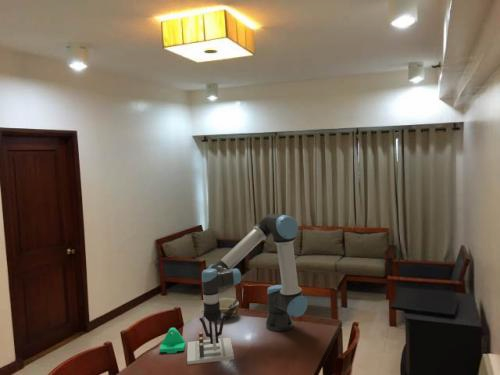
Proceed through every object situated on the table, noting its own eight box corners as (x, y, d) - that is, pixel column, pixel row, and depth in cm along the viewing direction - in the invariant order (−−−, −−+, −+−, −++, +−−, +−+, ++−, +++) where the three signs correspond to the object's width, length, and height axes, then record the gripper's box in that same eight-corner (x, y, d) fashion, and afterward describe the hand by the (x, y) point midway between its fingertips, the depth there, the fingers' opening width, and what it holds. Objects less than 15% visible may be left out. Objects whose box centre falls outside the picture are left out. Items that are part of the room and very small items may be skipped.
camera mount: (159, 354, 210) (158, 334, 209) (162, 347, 218) (160, 328, 217) (183, 352, 211) (182, 332, 210) (185, 346, 218) (184, 326, 218)
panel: (230, 340, 222) (229, 337, 222) (234, 359, 200) (233, 355, 200) (187, 345, 219) (187, 341, 219) (187, 364, 197) (187, 360, 197)
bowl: (207, 323, 248) (206, 307, 248) (214, 312, 266) (213, 297, 265) (236, 323, 245) (235, 307, 245) (242, 312, 263) (241, 297, 262)
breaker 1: (203, 347, 210) (202, 336, 210) (203, 349, 208) (203, 339, 207) (199, 347, 210) (198, 337, 210) (199, 349, 207) (199, 339, 207)
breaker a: (203, 341, 217) (202, 331, 217) (203, 343, 215) (202, 333, 214) (199, 341, 217) (198, 331, 217) (199, 344, 214) (198, 333, 214)
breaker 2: (203, 353, 203) (203, 342, 203) (204, 355, 201) (203, 344, 200) (199, 353, 203) (199, 343, 203) (199, 356, 200) (199, 345, 200)
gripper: (224, 297, 206) (227, 344, 208) (197, 300, 204) (201, 348, 206) (225, 302, 199) (229, 351, 200) (197, 305, 197) (201, 354, 198)
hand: (214, 349), depth 203 cm, fingers closed
